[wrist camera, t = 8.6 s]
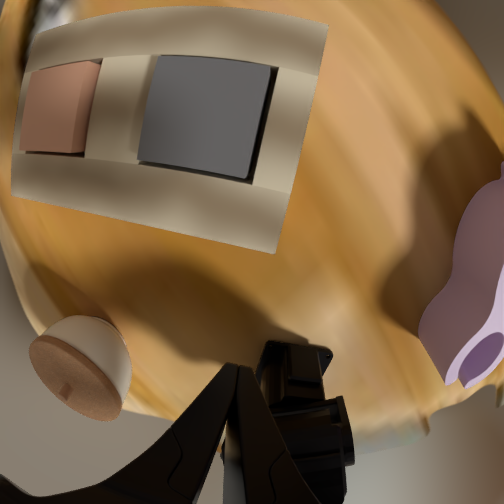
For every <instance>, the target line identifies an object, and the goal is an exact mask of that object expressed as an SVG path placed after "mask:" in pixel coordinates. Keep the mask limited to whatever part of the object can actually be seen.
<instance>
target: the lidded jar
mask: <svg viewBox="0 0 504 504" xmlns="http://www.w3.org/2000/svg"><path fill="white" fill-rule="evenodd" d="M29 356H30V359H31V363H32V365H33V367H34V369H35V371H36V373H37V374H38V376H39V377H40V379H41V380H42V382H43V383H44V384H45V385H46V386H47V388H48V389H49V390H50V391H51V392H52V393H53V394H54V395H55V396H56V397H57V398H59V399H60V400H61V401H62V402H63V403H65V404H66V405H67V406H69V407H70V408H72V409H73V410H75V411H77V412H79V413H80V414H82V415H84V416H86V417H89V418H92V419H95V420H99V421H112V420H114V419H116V418H117V417H118V415H119V413H120V411H121V408H122V405H123V403H124V401H125V398H126V396H127V393H128V390H129V387H130V384H131V379H132V364H131V358H130V355H129V352H128V350H127V345H126V342H125V340H124V338H123V337H122V335H121V334H120V332H119V331H118V330H117V329H116V328H115V327H114V326H113V325H111V324H110V323H109V322H107V321H105V320H103V319H101V318H98V317H89V316H84V315H74V316H69V317H65V318H63V319H61V320H59V321H57V322H55V323H54V324H53V325H51V326H50V327H49V328H48V329H47V330H45V331H44V332H43V333H42V334H41V336H39V337H37V338H36V339H35V340H34V341H33V342H32V343H31V345H30V348H29Z"/></svg>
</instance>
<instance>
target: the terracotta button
mask: <svg viewBox="0 0 504 504" xmlns="http://www.w3.org/2000/svg"><path fill="white" fill-rule="evenodd" d="M100 69H101V65H99V64H96V63H93V62H90V61H83V62H77V63H71V64H66V65H61V66H56V67H51V68H47V69H42V70H38V71H34V72H32V73H31V77H30V82H29V86H28V91H27V96H26V101H25V107H24V113H23V119H22V127H21V135H20V146H19V150H24V151H48V152H64V153H75V152H82V151H85V149H86V141H87V133H88V127H89V120H90V114H91V109H92V104H93V99H94V94H95V89H96V85H97V81H98V76H99V72H100Z"/></svg>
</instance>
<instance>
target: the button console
mask: <svg viewBox="0 0 504 504" xmlns="http://www.w3.org/2000/svg"><path fill="white" fill-rule="evenodd" d="M328 27H329V25H327V24H323V23H319V22H316V21H312V20H308V19H303V18H299V17H294V16H290V15H284V14H279V13H273V12H267V11H260V10H252V9H243V8H233V7H217V6H172V7H157V8H146V9H137V10H130V11H123V12H117V13H111V14H106V15H101V16H96V17H92V18H88V19H84V20H80V21H76V22H72V23H69V24H66V25H62V26H59V27H56V28H53V29H50V30H47V31H44V32H42V33H39V34H36V37H35V40H34V43H33V46H32V49H31V52H30V55H29V59H28V62H27V66H26V69H25V73H24V77H23V82H22V86H21V91H20V96H19V101H18V107H17V113H16V120H15V127H14V136H13V147H12V164H11V196H15V197H20V198H25V199H29V200H34V201H38V202H43V203H47V204H52V205H56V206H61V207H66V208H70V209H75V210H79V211H84V212H88V213H93V214H97V215H102V216H106V217H111V218H115V219H120V220H124V221H129V222H133V223H138V224H142V225H147V226H151V227H156V228H160V229H164V230H169V231H173V232H178V233H182V234H187V235H191V236H196V237H200V238H205V239H209V240H213V241H218V242H222V243H227V244H231V245H236V246H240V247H244V248H249V249H253V250H258V251H262V252H267V253H271V254H275V252H276V248H277V244H278V241H279V237H280V233H281V229H282V225H283V221H284V217H285V214H286V210H287V206H288V202H289V198H290V194H291V190H292V186H293V182H294V178H295V174H296V170H297V166H298V161H299V157H300V153H301V149H302V145H303V141H304V136H305V132H306V128H307V124H308V119H309V115H310V111H311V106H312V102H313V97H314V93H315V88H316V84H317V79H318V75H319V70H320V66H321V61H322V56H323V51H324V47H325V42H326V37H327V32H328ZM158 56H186V57H203V58H215V59H224V60H233V61H240V62H247V63H253V64H259V65H265V66H270V75H271V85H270V89H269V94H268V98H267V102H266V106H265V111H264V115H263V119H262V124H261V128H260V133H259V137H258V141H257V146H256V150H255V155H254V159H253V164H252V168H251V172H250V173H249V174H248V175H247V176H246V178H245V179H244V178H240V177H235V176H230V175H225V174H220V173H215V172H209V171H204V170H198V169H193V168H187V167H181V166H175V165H169V164H162V163H156V162H149V161H141V160H137V154H138V148H139V141H140V135H141V129H142V124H143V118H144V113H145V108H146V104H147V99H148V94H149V90H150V86H151V82H152V78H153V74H154V70H155V66H156V62H157V59H158ZM83 61H90V62H93V63H96V64H99V65H101V69H100V72H99V76H98V81H97V85H96V89H95V94H94V99H93V104H92V109H91V114H90V120H89V127H88V133H87V141H86V149H85V151H82V152H75V153H64V152H48V151H24V150H19V146H20V135H21V127H22V119H23V113H24V107H25V101H26V96H27V91H28V86H29V82H30V77H31V73H32V72H34V71H38V70H42V69H47V68H51V67H56V66H61V65H66V64H71V63H77V62H83Z"/></svg>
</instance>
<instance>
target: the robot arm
mask: <svg viewBox="0 0 504 504" xmlns="http://www.w3.org/2000/svg"><path fill="white" fill-rule="evenodd" d="M270 345H271V346H272V347H269V346H270ZM326 355H328V356H326ZM332 358H333V353H332V351H330V350H325V349H318V348H312V347H305V346H299V345H293V344H288V343H282V342H277V341H267V342H266V343H265V346H264V349H263V352H262V355H261V358H260V361H259V364H258V367H257V370H256V373H255V374H254V372H253V369H252V368H251V367H248V366H243V365H240V366H238V365H237V364H233V363H228V362H227V363H225V365H224V366H223V367H222V368H221V369H220V371H219V372H218V373H217V374H216V375H215V376H214V378H213V379H212V380H211V381H210V382H209V383H208V385H207V386H206V387H205V388H204V389H203V390H202V392H201V393H200V394H199V395H198V396H197V397H196V399H195V400H194V401H193V402H192V403H191V404H190V405H189V407H188V408H187V409H186V410H185V411H184V412H183V413H182V414H181V416H180V417H179V418H178V419H177V420H176V421H175V422H174V423H173V424H172V425H171V427H170V428H169V429H168V430H167V431H166V432H165V433H164V434H163V435H162V436H161V437H160V438H159V439H158V440H157V441H156V442H155V443H154V444H153V445H152V446H151V447H150V448H148V449H147V450H146V451H145V452H144V453H142V454H141V455H140V456H139V457H137V458H136V459H134V460H133V461H132V462H130V463H129V464H128V465H126V466H125V467H124V468H122V469H121V470H119V471H118V472H116V473H115V474H114V475H112V476H111V477H109V478H107V479H106V480H104V481H102V482H100V483H98V484H96V485H92V486H89V487H85V488H81V489H78V490H73V491H70V492H65V493H60V494H55V495H51V496H43V497H37V496H32V495H31V494H29V493H28V492H26V491H25V490H23V489H22V488H20V487H19V486H17V485H16V484H14V483H13V482H12V481H10V480H9V479H8V478H6V477H5V476H3V475H2V474H0V504H196V503H197V500H198V498H199V495H200V493H201V490H202V487H203V485H204V482H205V479H206V477H207V474H208V472H209V469H210V466H211V463H212V461H213V458H214V455H215V453H216V450H217V447H218V445H219V442H220V439H221V436H222V433H223V431H224V428H225V424H226V437H225V439H224V442H223V444H222V447H221V449H222V452H221V454H220V457H221V459H222V460H223V464H224V483H223V504H342V503H343V502H344V497H345V495H346V492H347V486H346V473H345V466H351V465H354V463H355V456H354V444H353V437H352V431H351V426H350V422H349V418H348V414H347V411H346V407H345V403H344V399H343V396H337V397H336V398H333V399H328V400H325V393H324V387H323V379H322V376H323V375H324V373H325V371H326V369H327V367H328V366H329V364H330V362H331V360H332ZM226 421H227V423H226Z"/></svg>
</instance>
